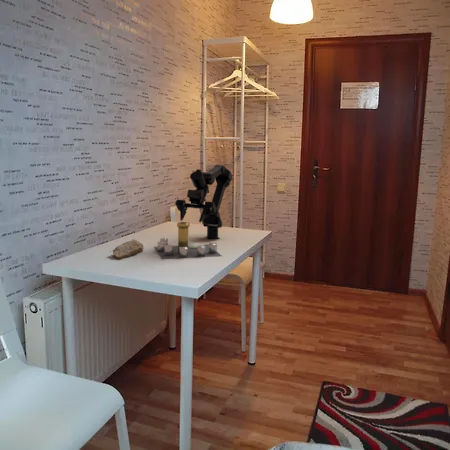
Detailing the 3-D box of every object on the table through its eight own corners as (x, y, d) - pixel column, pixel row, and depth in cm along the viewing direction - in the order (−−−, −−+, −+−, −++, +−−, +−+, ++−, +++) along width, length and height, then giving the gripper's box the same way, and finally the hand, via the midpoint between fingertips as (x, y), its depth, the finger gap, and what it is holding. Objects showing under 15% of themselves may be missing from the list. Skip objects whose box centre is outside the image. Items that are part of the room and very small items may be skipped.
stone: (133, 238, 203) (149, 233, 198) (138, 251, 204) (154, 246, 199) (101, 251, 186) (117, 247, 180) (106, 266, 186) (123, 261, 181)
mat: (153, 247, 205) (153, 246, 205) (208, 245, 212) (208, 244, 212) (161, 260, 182) (161, 259, 182) (222, 257, 190) (222, 256, 190)
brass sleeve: (175, 251, 197) (176, 222, 195) (187, 250, 198) (188, 221, 196) (178, 254, 192) (178, 224, 189) (190, 253, 193) (190, 224, 191)
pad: (183, 244, 210) (183, 243, 209) (201, 244, 212) (201, 242, 212) (187, 249, 201) (187, 247, 201) (206, 248, 204) (206, 247, 204)
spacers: (162, 246, 206) (162, 237, 205) (218, 252, 197) (218, 243, 196) (145, 253, 192) (145, 244, 191) (204, 260, 182) (204, 250, 182)
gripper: (176, 182, 205) (165, 208, 196) (214, 184, 198) (204, 211, 190) (184, 197, 213) (173, 223, 205) (220, 199, 207) (211, 226, 199)
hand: (190, 221), depth 199 cm, fingers open, 9 cm apart
